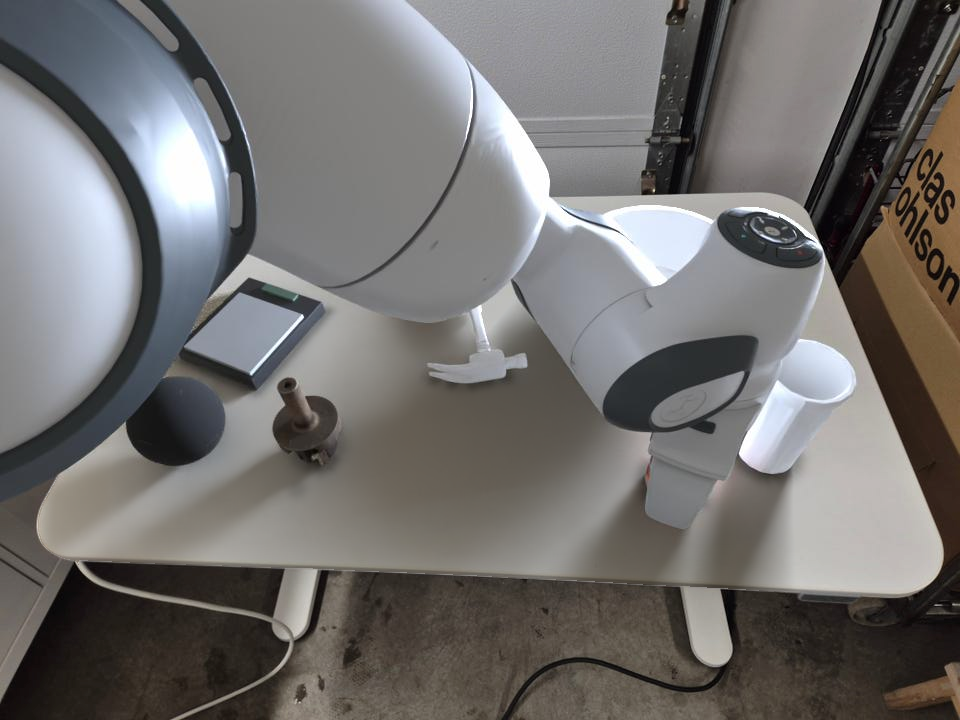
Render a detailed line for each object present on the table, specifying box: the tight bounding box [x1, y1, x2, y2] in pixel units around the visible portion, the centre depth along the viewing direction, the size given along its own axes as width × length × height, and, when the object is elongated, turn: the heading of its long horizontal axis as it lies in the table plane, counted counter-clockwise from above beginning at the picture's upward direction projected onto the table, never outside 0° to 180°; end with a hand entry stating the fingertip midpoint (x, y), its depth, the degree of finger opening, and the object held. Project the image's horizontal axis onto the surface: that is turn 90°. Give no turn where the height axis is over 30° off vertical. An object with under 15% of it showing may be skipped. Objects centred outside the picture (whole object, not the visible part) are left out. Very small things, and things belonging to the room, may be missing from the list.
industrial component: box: [271, 376, 342, 466], centre depth 66 cm, size 9×7×12 cm
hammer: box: [426, 304, 528, 384], centre depth 84 cm, size 12×30×3 cm, turn 10°
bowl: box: [602, 205, 714, 280], centre depth 80 cm, size 22×22×8 cm
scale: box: [178, 277, 326, 391], centre depth 82 cm, size 15×13×3 cm
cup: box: [738, 338, 858, 475], centre depth 62 cm, size 8×8×14 cm
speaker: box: [125, 375, 227, 467], centre depth 68 cm, size 10×10×10 cm
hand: (680, 463), depth 63 cm, fingers closed on pill bottle, 6 cm apart
